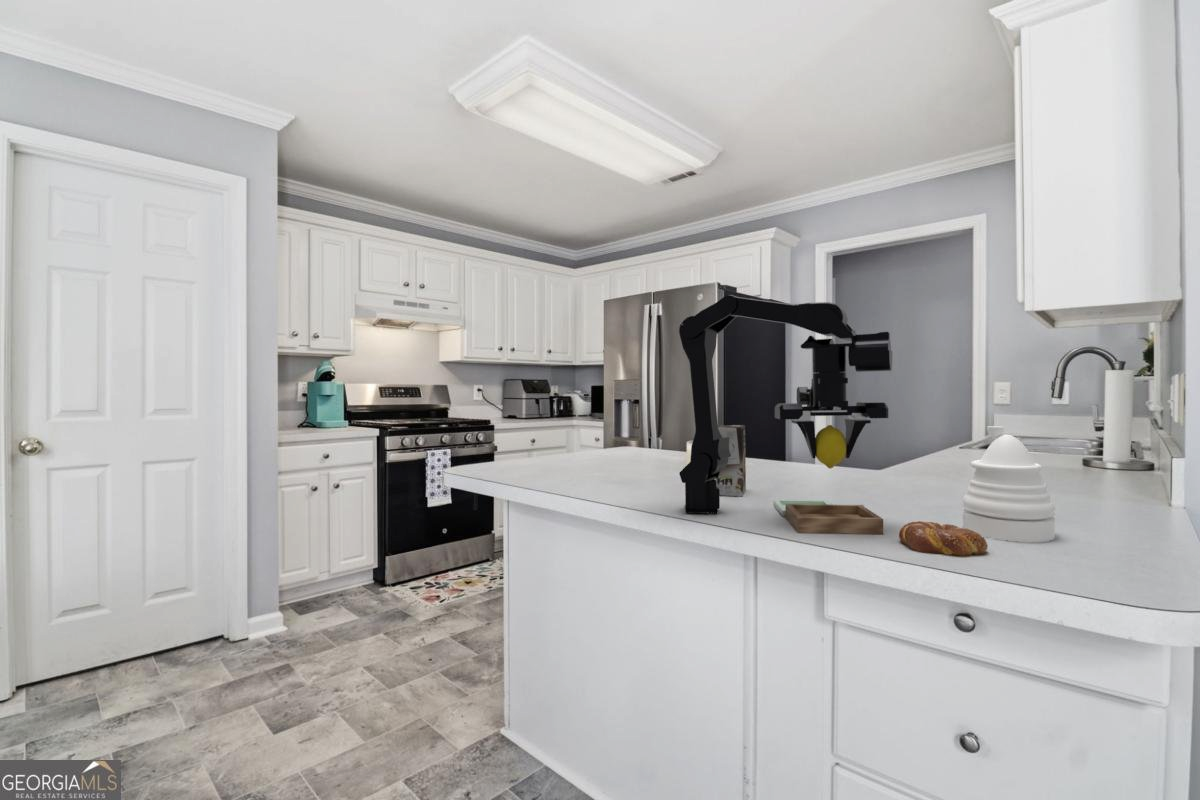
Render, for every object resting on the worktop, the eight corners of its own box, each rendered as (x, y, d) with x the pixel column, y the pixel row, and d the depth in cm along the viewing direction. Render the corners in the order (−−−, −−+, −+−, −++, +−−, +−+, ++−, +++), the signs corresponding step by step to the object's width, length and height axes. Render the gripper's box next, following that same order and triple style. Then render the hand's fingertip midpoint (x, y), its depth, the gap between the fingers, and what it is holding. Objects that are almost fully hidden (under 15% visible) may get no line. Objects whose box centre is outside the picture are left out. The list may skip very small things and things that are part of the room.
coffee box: (743, 497, 135) (742, 427, 135) (715, 495, 137) (714, 426, 137) (746, 490, 144) (746, 424, 143) (720, 489, 146) (719, 424, 146)
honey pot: (945, 528, 104) (945, 426, 103) (993, 521, 109) (993, 423, 108) (1023, 546, 92) (1023, 431, 91) (1072, 537, 97) (1072, 428, 96)
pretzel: (995, 548, 92) (995, 524, 92) (978, 564, 84) (978, 538, 84) (911, 535, 100) (911, 513, 100) (889, 548, 92) (889, 525, 92)
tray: (798, 532, 102) (798, 517, 102) (785, 517, 114) (785, 504, 114) (883, 534, 100) (883, 519, 100) (861, 518, 112) (861, 504, 112)
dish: (782, 516, 114) (782, 510, 114) (773, 505, 125) (773, 499, 125) (841, 517, 113) (841, 511, 113) (827, 506, 124) (827, 500, 124)
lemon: (849, 470, 104) (849, 425, 104) (817, 470, 105) (816, 426, 105) (842, 466, 110) (842, 423, 110) (811, 466, 111) (811, 424, 111)
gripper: (867, 372, 114) (868, 452, 114) (769, 374, 116) (770, 453, 116) (889, 371, 103) (890, 459, 103) (779, 373, 105) (781, 460, 105)
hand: (830, 458), depth 107 cm, fingers closed on lemon, 5 cm apart
